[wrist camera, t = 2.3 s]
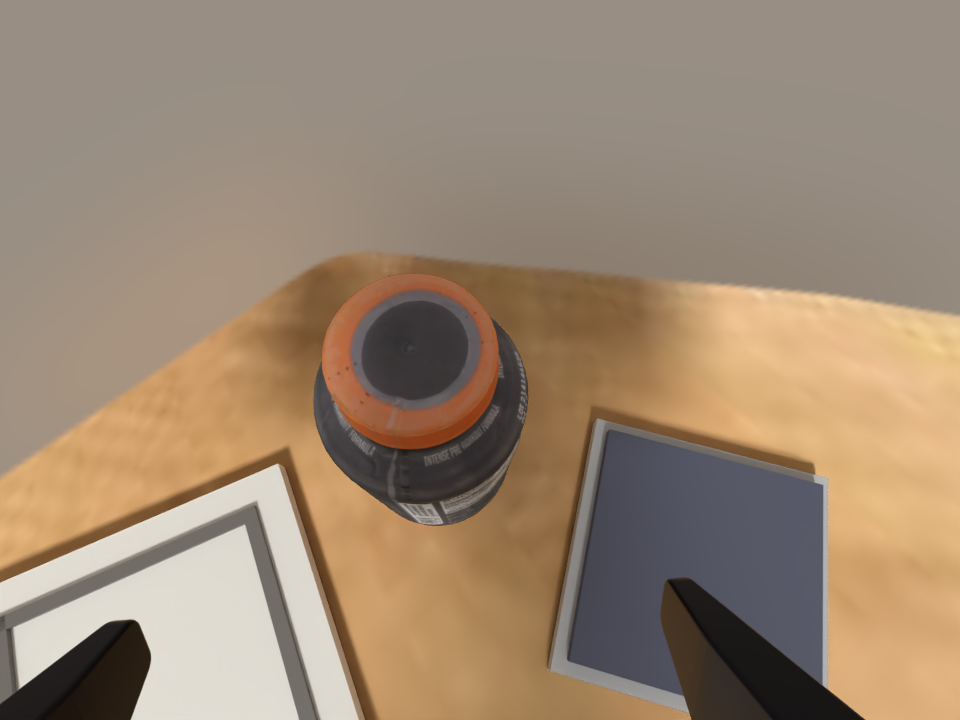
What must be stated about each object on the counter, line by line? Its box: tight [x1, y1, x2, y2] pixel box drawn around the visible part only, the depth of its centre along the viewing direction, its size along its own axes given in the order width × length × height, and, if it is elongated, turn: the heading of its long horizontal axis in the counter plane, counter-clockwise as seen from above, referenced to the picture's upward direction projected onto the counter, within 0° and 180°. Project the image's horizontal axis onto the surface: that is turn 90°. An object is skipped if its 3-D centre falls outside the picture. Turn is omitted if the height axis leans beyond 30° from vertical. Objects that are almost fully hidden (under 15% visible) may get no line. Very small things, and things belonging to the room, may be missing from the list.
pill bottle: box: [314, 273, 528, 526], centre depth 16 cm, size 6×6×11 cm
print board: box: [0, 464, 365, 720], centre depth 18 cm, size 12×12×1 cm
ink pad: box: [548, 418, 828, 713], centre depth 20 cm, size 10×10×1 cm
